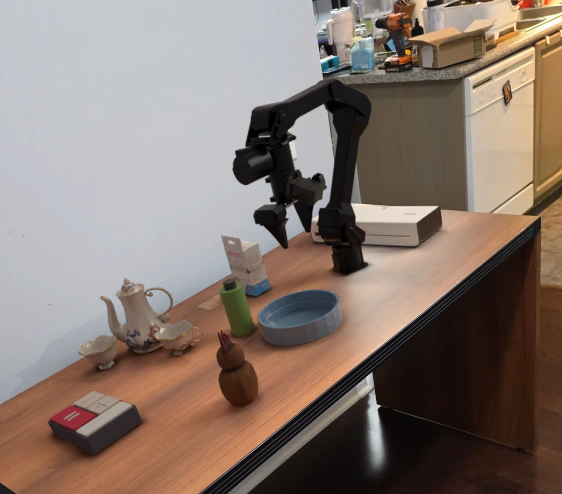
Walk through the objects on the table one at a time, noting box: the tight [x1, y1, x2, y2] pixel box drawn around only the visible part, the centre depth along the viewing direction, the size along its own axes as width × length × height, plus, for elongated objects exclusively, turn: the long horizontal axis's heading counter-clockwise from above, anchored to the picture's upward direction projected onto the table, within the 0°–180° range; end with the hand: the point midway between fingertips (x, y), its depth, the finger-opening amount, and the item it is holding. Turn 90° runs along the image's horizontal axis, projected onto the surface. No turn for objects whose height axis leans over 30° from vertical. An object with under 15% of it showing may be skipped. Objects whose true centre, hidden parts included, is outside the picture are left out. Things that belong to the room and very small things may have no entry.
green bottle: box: [218, 278, 256, 337], centre depth 138 cm, size 5×5×12 cm
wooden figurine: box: [215, 329, 259, 408], centre depth 112 cm, size 7×6×15 cm
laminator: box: [309, 205, 443, 248], centre depth 169 cm, size 34×12×6 cm, turn 49°
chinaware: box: [78, 277, 204, 370], centre depth 140 cm, size 28×17×17 cm, turn 91°
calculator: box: [47, 390, 143, 456], centre depth 119 cm, size 11×4×15 cm
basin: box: [256, 288, 344, 347], centre depth 134 cm, size 17×17×4 cm
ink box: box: [220, 234, 271, 297], centre depth 156 cm, size 8×5×15 cm, turn 39°
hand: (297, 240), depth 143 cm, fingers open, 9 cm apart
